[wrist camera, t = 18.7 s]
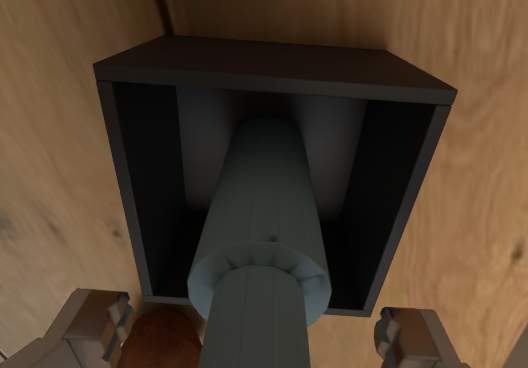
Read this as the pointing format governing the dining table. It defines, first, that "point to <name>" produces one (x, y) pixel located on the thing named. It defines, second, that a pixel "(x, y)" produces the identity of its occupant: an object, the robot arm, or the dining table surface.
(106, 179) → the dining table surface
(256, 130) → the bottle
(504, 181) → the dining table surface
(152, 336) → the potato
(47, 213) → the dining table surface
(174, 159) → the box
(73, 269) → the dining table surface
